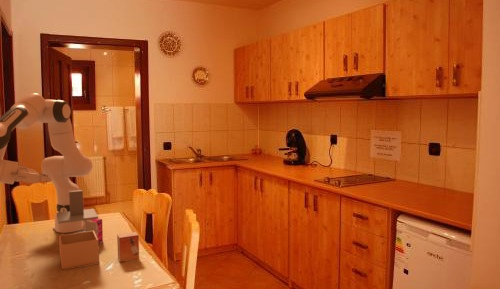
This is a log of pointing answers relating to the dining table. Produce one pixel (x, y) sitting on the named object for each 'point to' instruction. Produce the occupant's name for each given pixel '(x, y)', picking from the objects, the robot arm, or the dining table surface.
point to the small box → (128, 246)
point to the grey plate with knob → (76, 209)
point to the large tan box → (78, 249)
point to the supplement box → (95, 228)
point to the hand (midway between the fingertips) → (49, 178)
